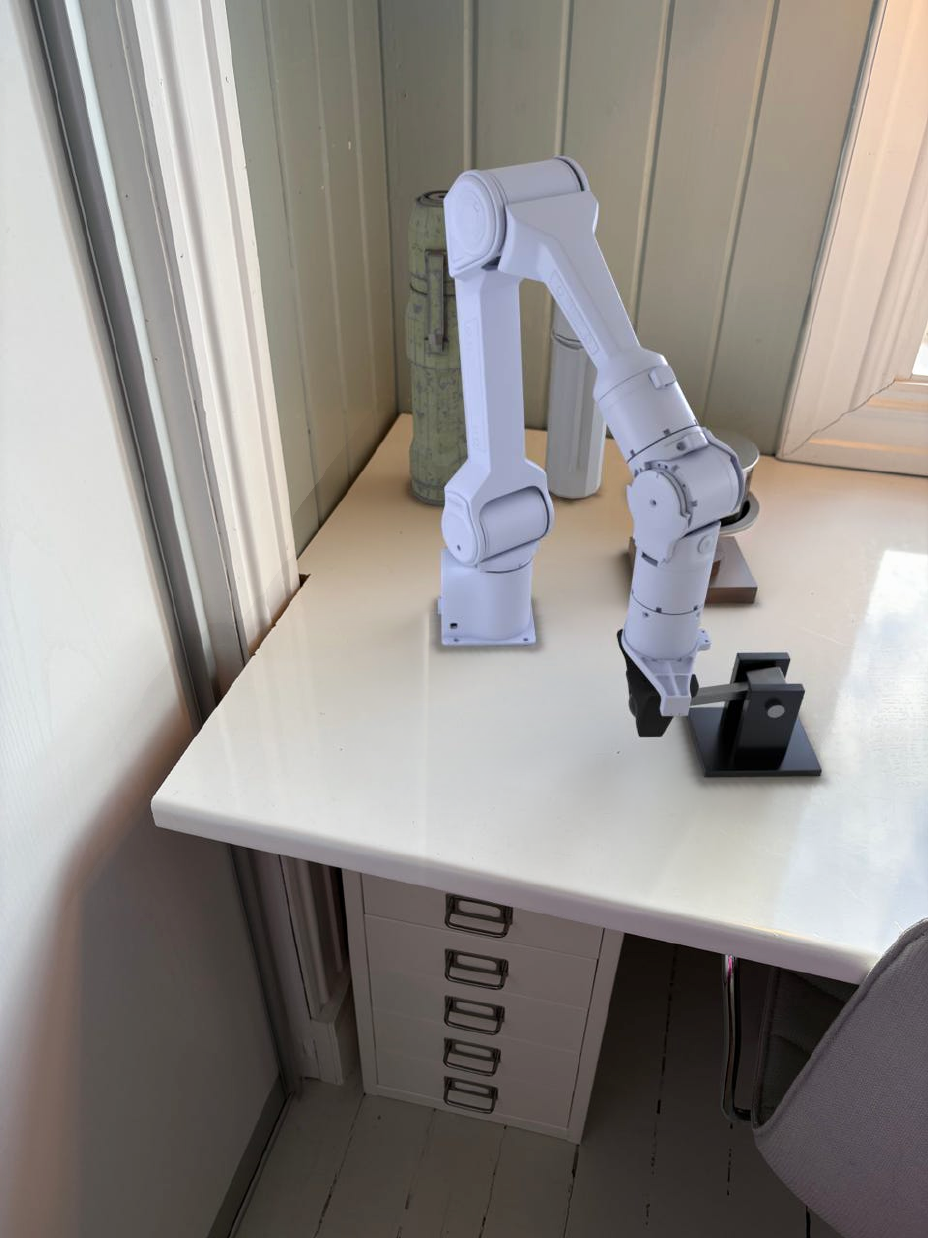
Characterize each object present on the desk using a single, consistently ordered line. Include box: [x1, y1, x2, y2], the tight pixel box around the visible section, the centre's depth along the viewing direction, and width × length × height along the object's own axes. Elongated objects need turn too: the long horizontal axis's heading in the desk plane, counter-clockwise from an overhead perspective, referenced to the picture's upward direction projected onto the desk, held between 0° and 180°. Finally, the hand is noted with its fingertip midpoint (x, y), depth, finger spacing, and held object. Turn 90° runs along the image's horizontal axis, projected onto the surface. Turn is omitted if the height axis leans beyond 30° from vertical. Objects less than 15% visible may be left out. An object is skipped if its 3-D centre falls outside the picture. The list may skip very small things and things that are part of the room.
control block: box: [627, 535, 759, 605], centre depth 102 cm, size 12×10×4 cm
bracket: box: [685, 651, 823, 779], centre depth 80 cm, size 10×8×9 cm
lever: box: [628, 667, 788, 718], centre depth 79 cm, size 13×3×3 cm, turn 91°
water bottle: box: [544, 303, 608, 500], centre depth 110 cm, size 9×8×25 cm
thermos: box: [404, 189, 468, 507], centre depth 108 cm, size 9×12×35 cm
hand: (646, 719), depth 80 cm, fingers closed on lever, 3 cm apart
